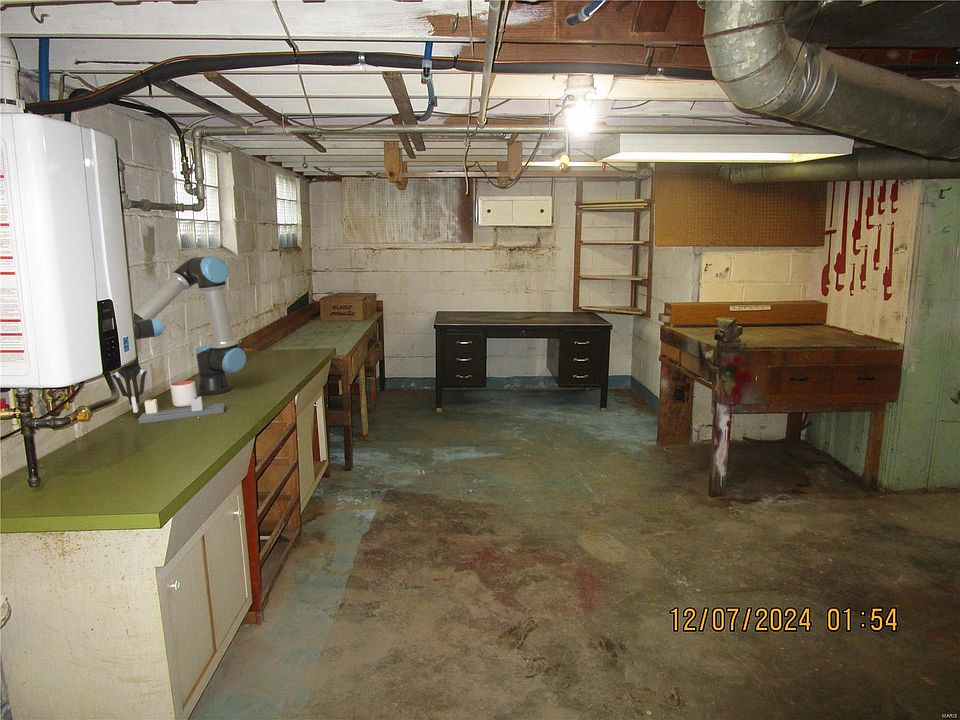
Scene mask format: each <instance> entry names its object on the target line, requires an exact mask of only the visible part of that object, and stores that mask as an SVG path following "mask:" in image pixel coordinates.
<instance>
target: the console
mask: <svg viewBox="0 0 960 720" xmlns="http://www.w3.org/2000/svg"><path fill="white" fill-rule="evenodd" d="M225 408H226V406H225V402H220V403H212V404H205V405H204V404H203V410H200V411H193V412H192V407H191V406H187V407H178V408H173V409H172V408H171V409H164V410H158V412H157V413H152V414H146V412H142V413H141V414H140V415H139V418H138V423H139V425H140V424H148V423H155V422H161V421H170V420H176V419H178V420H179V419H185V418H193V417H199V416H207V415H216V414H217V415H218V414H223V413H225Z"/></svg>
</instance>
